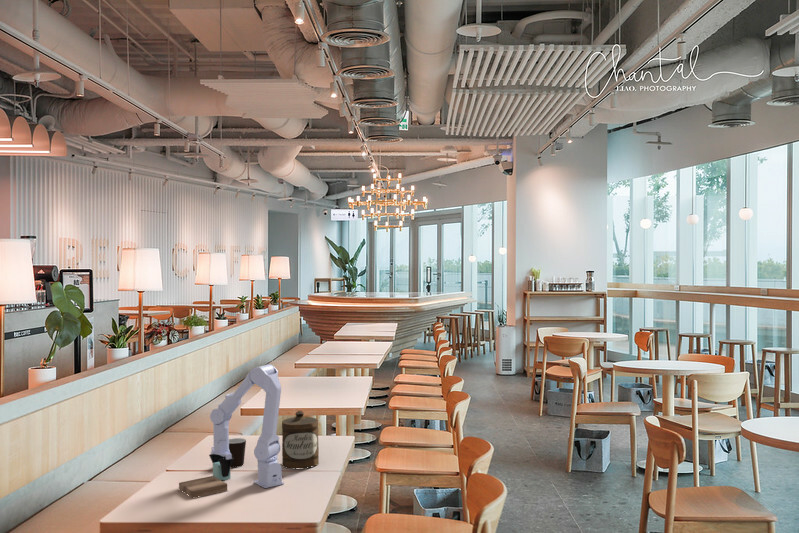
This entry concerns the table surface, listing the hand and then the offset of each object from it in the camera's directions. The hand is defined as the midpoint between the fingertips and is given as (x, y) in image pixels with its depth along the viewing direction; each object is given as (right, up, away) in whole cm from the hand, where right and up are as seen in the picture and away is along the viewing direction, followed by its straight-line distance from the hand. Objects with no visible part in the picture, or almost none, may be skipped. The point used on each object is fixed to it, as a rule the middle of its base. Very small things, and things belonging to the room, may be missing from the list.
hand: (221, 474), depth 261 cm
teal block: (0, -2, 0) cm, 2 cm away
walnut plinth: (-3, -2, -14) cm, 14 cm away
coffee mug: (+1, -2, +20) cm, 20 cm away
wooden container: (+28, -2, +18) cm, 33 cm away
